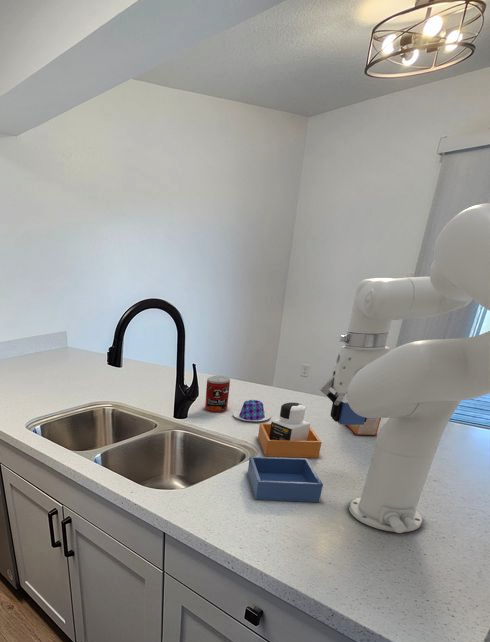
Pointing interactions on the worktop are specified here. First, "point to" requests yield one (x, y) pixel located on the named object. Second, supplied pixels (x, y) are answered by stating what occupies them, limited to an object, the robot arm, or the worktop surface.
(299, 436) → the medicine bottle
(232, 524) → the worktop surface
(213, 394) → the canned food
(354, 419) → the blue block
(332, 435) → the worktop surface
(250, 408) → the pudding
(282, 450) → the amber bin
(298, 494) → the blue bin
